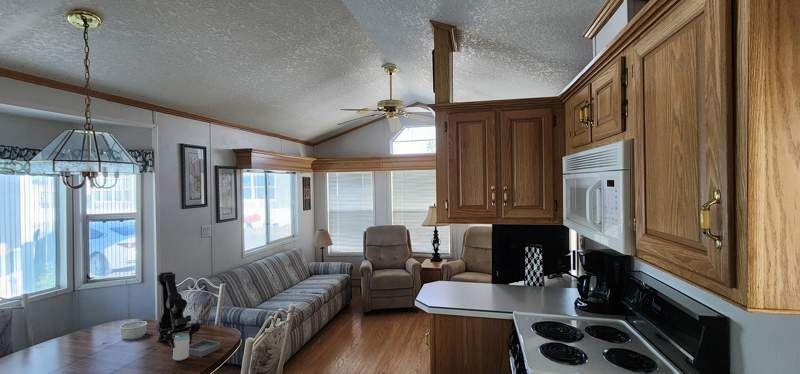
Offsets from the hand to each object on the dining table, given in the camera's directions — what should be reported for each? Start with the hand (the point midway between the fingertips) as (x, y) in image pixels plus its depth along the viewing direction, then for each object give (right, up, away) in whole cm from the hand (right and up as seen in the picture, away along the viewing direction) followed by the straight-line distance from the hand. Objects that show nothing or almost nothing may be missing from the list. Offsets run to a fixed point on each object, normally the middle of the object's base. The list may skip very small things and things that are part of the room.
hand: (182, 346), depth 190 cm
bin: (+4, -8, +13) cm, 16 cm away
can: (-1, -7, +1) cm, 7 cm away
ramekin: (-47, -7, +30) cm, 56 cm away
